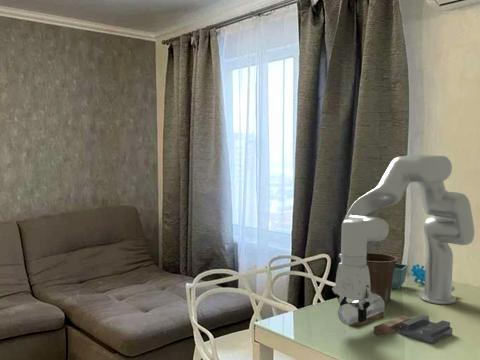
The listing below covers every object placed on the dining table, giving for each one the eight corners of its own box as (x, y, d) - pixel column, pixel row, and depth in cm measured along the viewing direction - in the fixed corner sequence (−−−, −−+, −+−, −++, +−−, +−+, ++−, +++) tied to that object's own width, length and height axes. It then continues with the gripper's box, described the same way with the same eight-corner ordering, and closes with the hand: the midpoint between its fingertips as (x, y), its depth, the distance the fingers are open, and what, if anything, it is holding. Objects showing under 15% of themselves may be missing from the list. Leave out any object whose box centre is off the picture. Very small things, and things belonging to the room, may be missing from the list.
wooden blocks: (375, 313, 172) (376, 307, 172) (410, 324, 163) (410, 318, 162) (347, 324, 162) (347, 318, 162) (382, 335, 152) (382, 329, 152)
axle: (368, 309, 163) (369, 292, 163) (384, 315, 159) (385, 296, 158) (337, 321, 153) (338, 302, 152) (353, 327, 148) (354, 308, 148)
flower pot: (401, 291, 199) (402, 269, 199) (379, 287, 204) (380, 266, 204) (407, 286, 207) (407, 264, 206) (385, 282, 212) (386, 261, 211)
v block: (419, 324, 162) (419, 313, 162) (452, 334, 154) (452, 323, 154) (398, 333, 155) (399, 322, 154) (432, 344, 146) (432, 332, 146)
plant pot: (366, 290, 201) (367, 250, 200) (403, 299, 189) (405, 257, 188) (343, 298, 190) (344, 256, 188) (381, 308, 178) (383, 263, 177)
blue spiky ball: (418, 283, 205) (409, 262, 212) (410, 290, 209) (401, 270, 216) (439, 284, 209) (429, 264, 216) (430, 291, 213) (421, 271, 220)
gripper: (323, 257, 155) (322, 313, 157) (370, 267, 142) (369, 329, 144) (338, 253, 160) (338, 308, 162) (385, 263, 147) (384, 323, 149)
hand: (352, 317), depth 153 cm, fingers closed on axle, 6 cm apart
